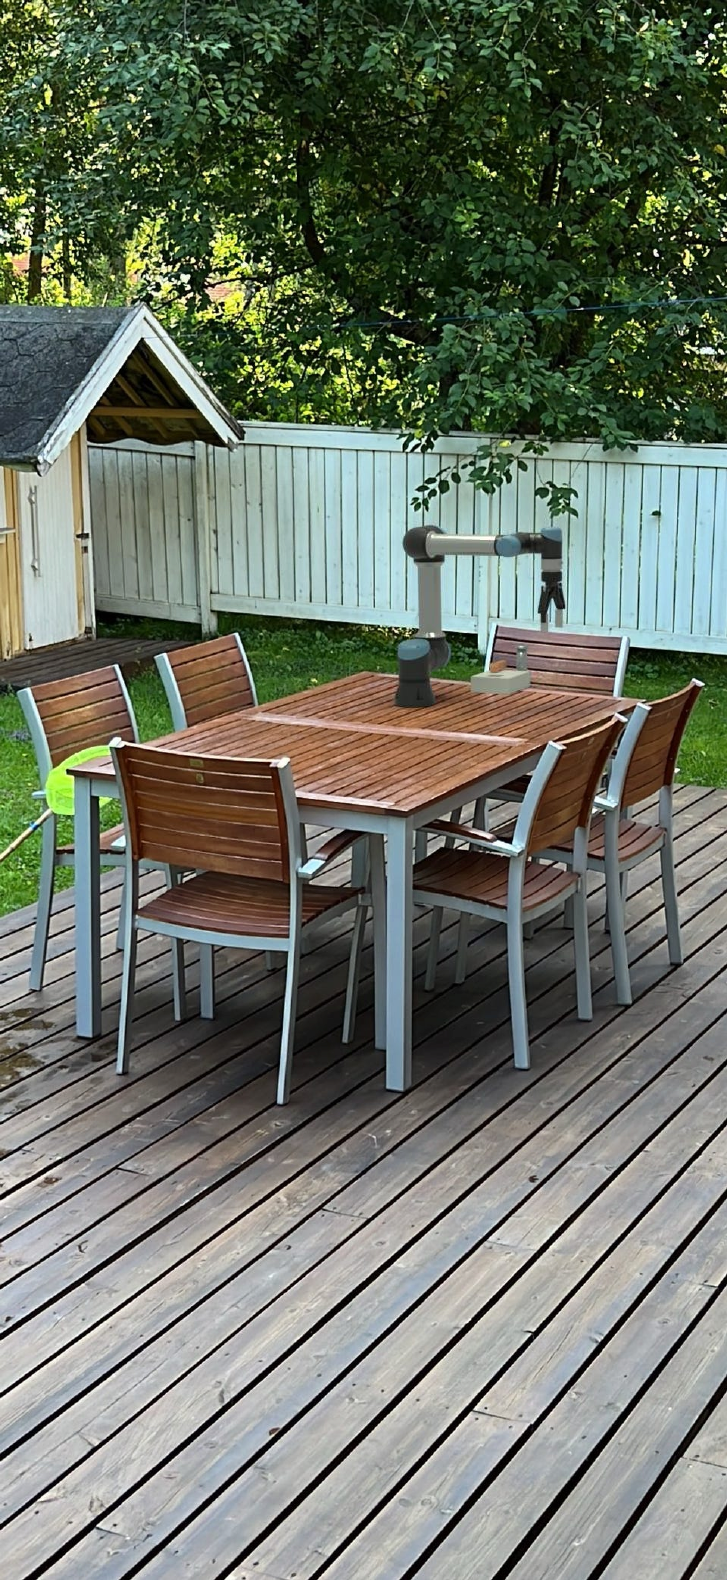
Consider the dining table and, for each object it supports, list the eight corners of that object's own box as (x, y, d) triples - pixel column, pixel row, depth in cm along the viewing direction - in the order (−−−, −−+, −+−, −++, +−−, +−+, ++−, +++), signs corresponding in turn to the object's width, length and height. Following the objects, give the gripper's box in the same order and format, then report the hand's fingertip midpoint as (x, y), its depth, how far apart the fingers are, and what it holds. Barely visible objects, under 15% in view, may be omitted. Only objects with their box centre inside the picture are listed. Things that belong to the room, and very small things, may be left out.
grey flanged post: (510, 684, 705) (510, 646, 702) (517, 682, 711) (517, 644, 708) (526, 685, 702) (526, 647, 699) (533, 682, 708) (533, 645, 705)
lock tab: (496, 672, 694) (496, 664, 694) (488, 671, 696) (488, 664, 696) (508, 668, 704) (508, 660, 704) (500, 667, 706) (500, 660, 705)
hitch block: (470, 692, 689) (470, 676, 688) (492, 684, 706) (492, 669, 705) (509, 694, 681) (509, 678, 680) (530, 686, 699) (529, 671, 697)
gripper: (547, 573, 631) (548, 634, 635) (574, 567, 652) (574, 625, 657) (528, 573, 634) (528, 633, 639) (555, 567, 656) (555, 625, 660)
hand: (551, 629), depth 648 cm, fingers open, 13 cm apart
